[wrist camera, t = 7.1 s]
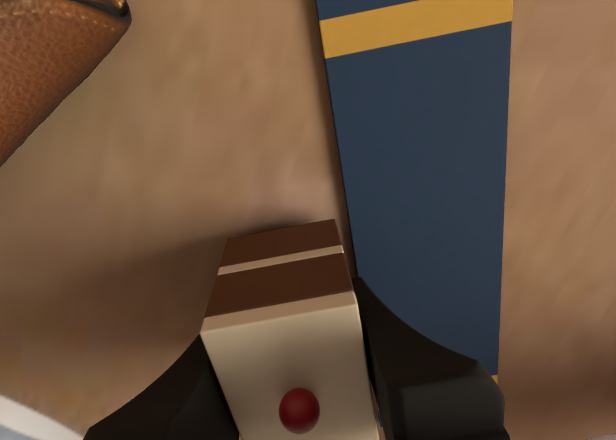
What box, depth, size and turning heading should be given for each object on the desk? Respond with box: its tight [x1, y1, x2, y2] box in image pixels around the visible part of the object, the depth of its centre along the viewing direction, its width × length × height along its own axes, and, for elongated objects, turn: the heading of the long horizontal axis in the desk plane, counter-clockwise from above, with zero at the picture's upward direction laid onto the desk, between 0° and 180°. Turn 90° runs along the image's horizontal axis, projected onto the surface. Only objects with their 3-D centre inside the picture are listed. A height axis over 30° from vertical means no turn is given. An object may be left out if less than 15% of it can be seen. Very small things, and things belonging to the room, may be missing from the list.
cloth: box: [315, 0, 513, 427], centre depth 17 cm, size 6×22×1 cm, turn 10°
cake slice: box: [200, 219, 379, 440], centre depth 14 cm, size 4×6×7 cm
